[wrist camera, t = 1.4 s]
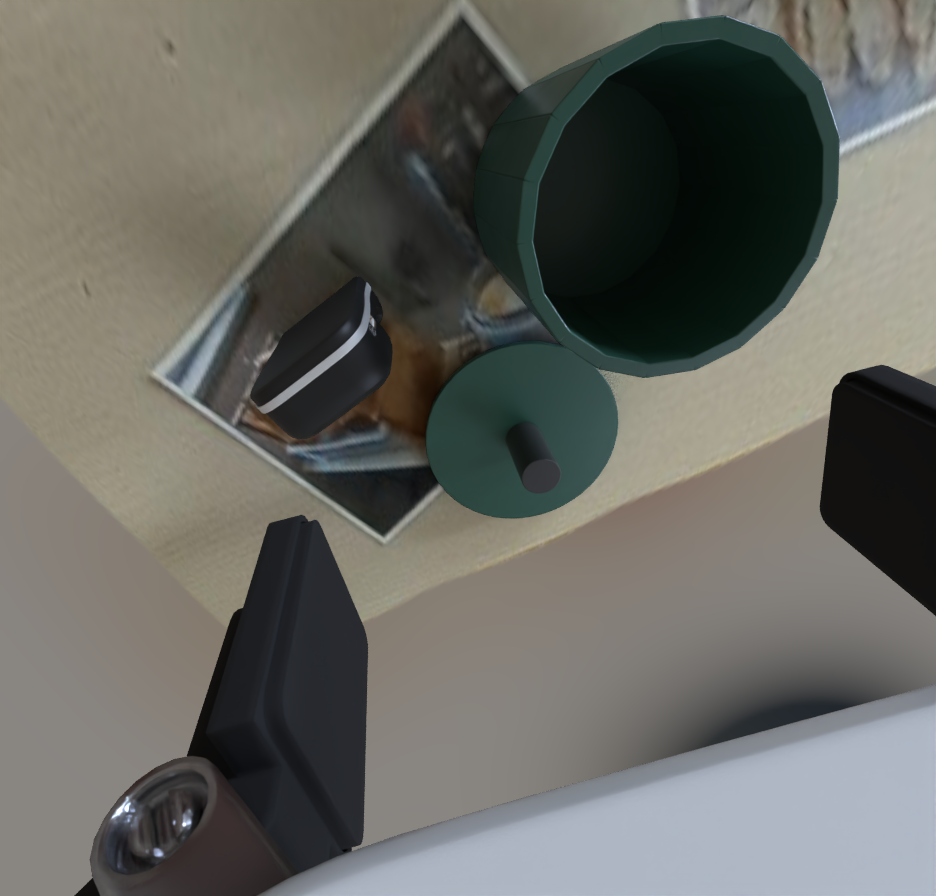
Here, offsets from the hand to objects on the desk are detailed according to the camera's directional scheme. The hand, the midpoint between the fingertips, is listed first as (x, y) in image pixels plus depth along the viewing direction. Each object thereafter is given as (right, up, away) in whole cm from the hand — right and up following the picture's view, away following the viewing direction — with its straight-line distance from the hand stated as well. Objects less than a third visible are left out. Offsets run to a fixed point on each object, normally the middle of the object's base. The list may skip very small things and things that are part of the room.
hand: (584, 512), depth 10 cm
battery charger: (-10, +9, +27) cm, 30 cm away
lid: (+2, +2, +31) cm, 32 cm away
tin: (+5, +17, +25) cm, 30 cm away
